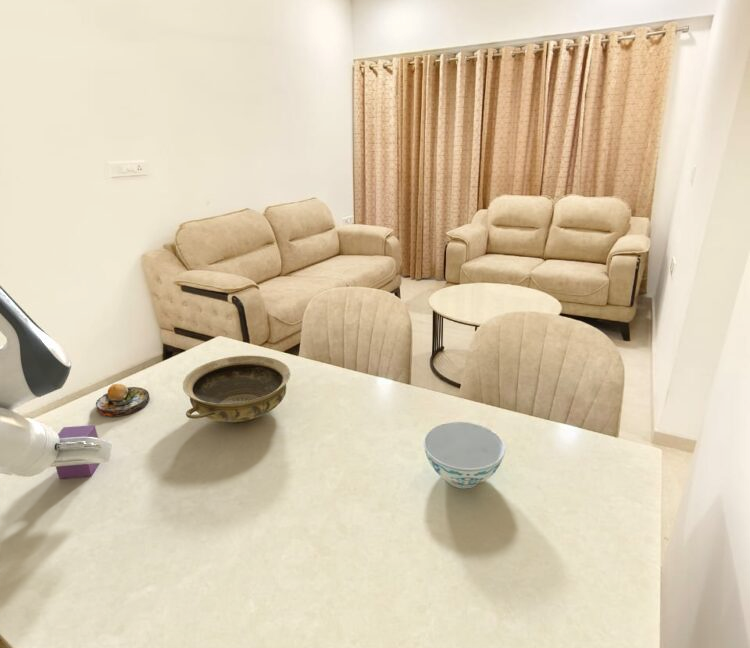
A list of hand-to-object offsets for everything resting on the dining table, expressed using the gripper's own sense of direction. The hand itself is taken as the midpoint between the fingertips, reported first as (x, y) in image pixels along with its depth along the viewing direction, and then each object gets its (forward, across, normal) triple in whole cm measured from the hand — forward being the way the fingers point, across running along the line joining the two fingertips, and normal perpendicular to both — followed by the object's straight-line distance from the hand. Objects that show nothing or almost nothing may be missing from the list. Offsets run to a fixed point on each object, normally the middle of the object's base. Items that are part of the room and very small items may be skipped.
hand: (68, 461), depth 96 cm
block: (+6, 0, 0) cm, 6 cm away
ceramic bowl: (+18, -30, -11) cm, 36 cm away
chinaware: (-3, -75, +10) cm, 76 cm away
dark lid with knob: (+23, 0, -17) cm, 29 cm away
